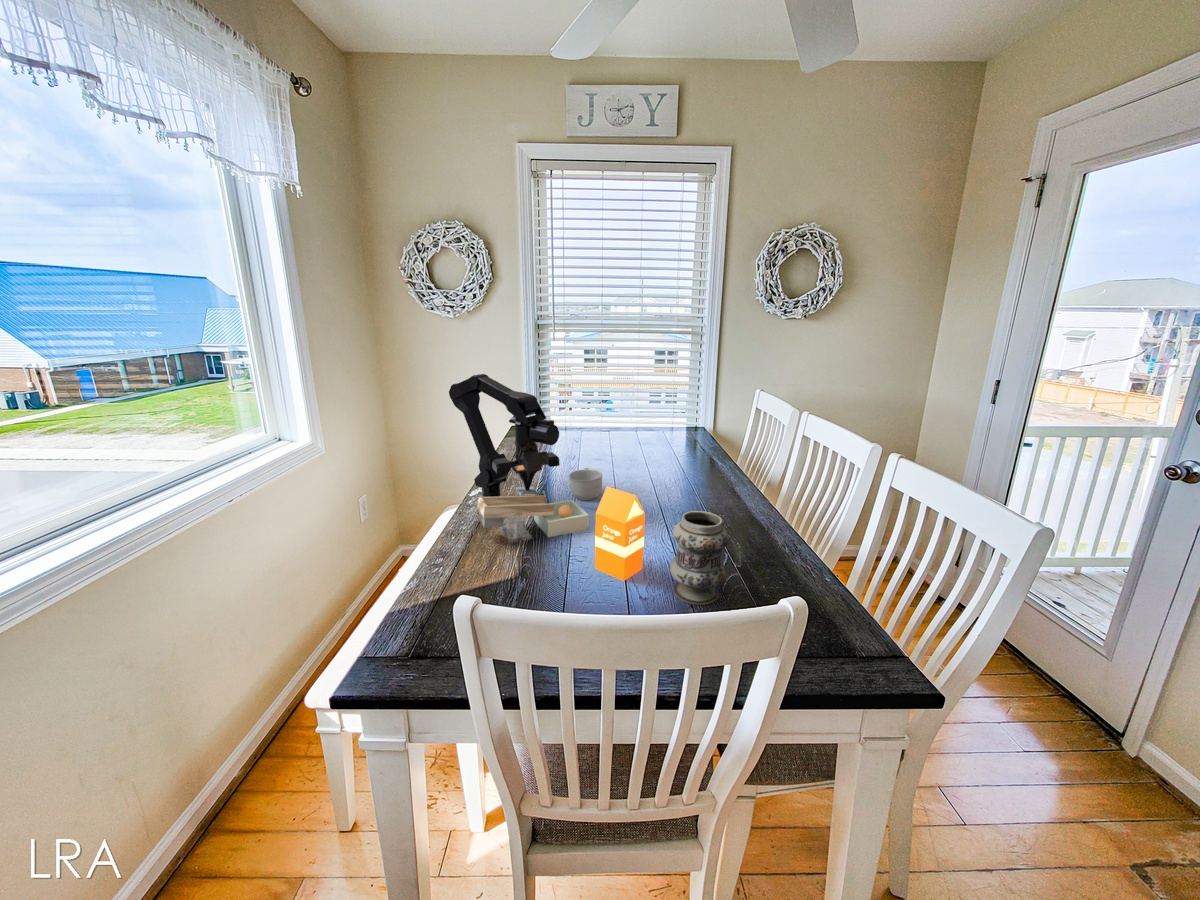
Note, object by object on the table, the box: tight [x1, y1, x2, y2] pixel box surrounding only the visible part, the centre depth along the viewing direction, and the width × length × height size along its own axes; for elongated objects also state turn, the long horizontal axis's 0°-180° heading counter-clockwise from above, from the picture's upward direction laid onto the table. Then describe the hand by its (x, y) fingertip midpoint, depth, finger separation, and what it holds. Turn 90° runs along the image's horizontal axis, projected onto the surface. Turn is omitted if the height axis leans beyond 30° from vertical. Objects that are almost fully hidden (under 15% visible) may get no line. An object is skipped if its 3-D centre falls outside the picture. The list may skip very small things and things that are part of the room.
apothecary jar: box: [669, 510, 730, 606], centre depth 108 cm, size 12×12×18 cm
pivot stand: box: [498, 513, 532, 544], centre depth 135 cm, size 10×6×8 cm, turn 26°
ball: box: [558, 505, 572, 518], centre depth 141 cm, size 4×4×4 cm
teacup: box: [568, 467, 603, 501], centre depth 163 cm, size 14×11×8 cm
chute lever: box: [477, 486, 554, 529], centre depth 139 cm, size 17×19×6 cm
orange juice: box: [594, 486, 646, 582], centre depth 116 cm, size 8×9×20 cm
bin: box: [533, 499, 590, 538], centre depth 141 cm, size 12×12×4 cm
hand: (527, 490), depth 146 cm, fingers closed, pressing on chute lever
